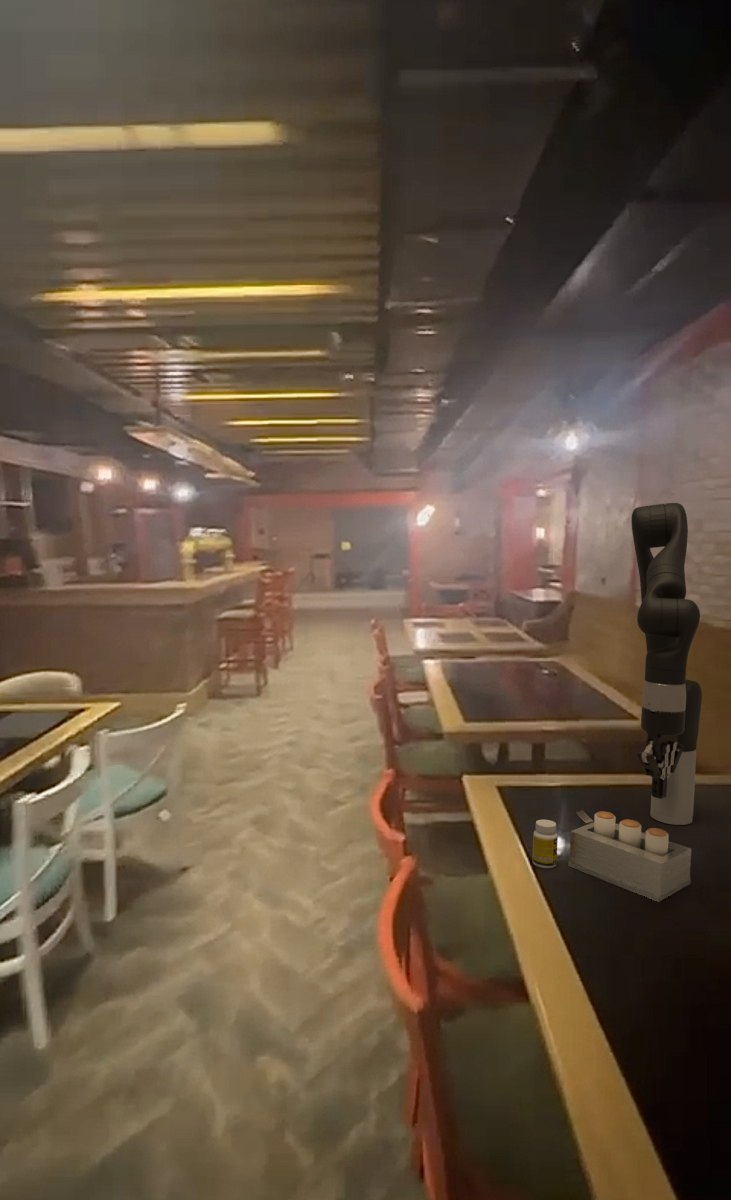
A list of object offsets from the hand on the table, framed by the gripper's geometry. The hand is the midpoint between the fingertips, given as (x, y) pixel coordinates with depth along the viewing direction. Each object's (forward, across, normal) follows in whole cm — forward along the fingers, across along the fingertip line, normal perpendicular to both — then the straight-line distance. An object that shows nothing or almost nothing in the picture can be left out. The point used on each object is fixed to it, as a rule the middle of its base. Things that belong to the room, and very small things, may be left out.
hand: (658, 797), depth 138 cm
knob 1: (+13, 0, -11) cm, 17 cm away
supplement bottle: (+17, +9, -18) cm, 27 cm away
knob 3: (+13, 0, 0) cm, 13 cm away
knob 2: (+13, 0, -5) cm, 14 cm away
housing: (+17, 0, -5) cm, 18 cm away
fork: (+18, -18, -21) cm, 33 cm away
